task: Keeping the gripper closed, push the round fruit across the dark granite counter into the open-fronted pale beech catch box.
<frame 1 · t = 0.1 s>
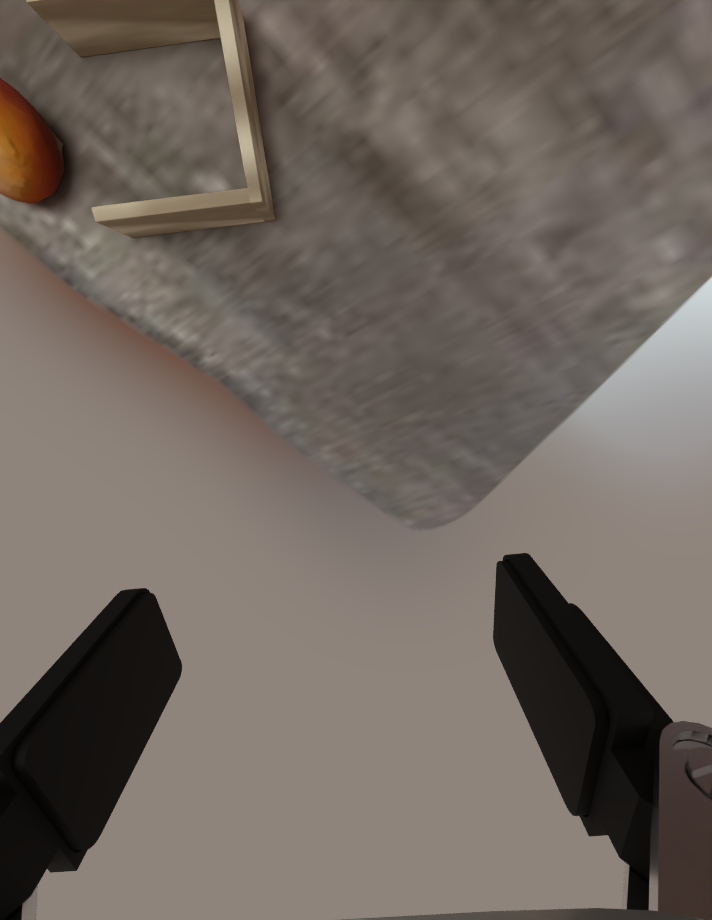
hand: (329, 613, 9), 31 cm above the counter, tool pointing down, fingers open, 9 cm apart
fruit: (33, 158, 31), on the counter
catch box: (183, 137, 30), on the counter
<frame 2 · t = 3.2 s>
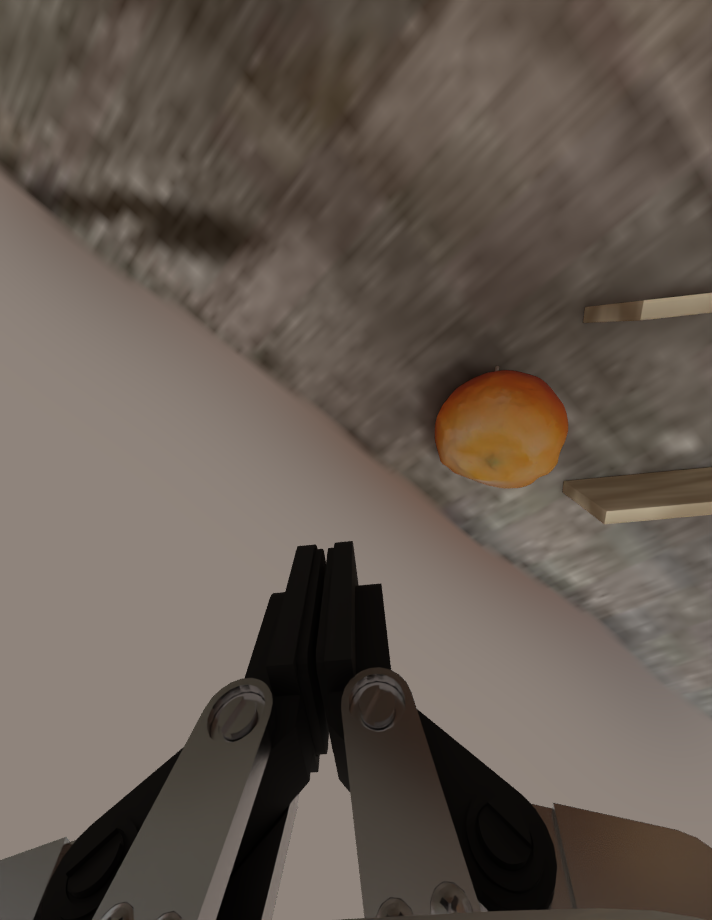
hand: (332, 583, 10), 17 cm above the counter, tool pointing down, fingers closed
fruit: (477, 417, 26), on the counter
catch box: (668, 398, 25), on the counter
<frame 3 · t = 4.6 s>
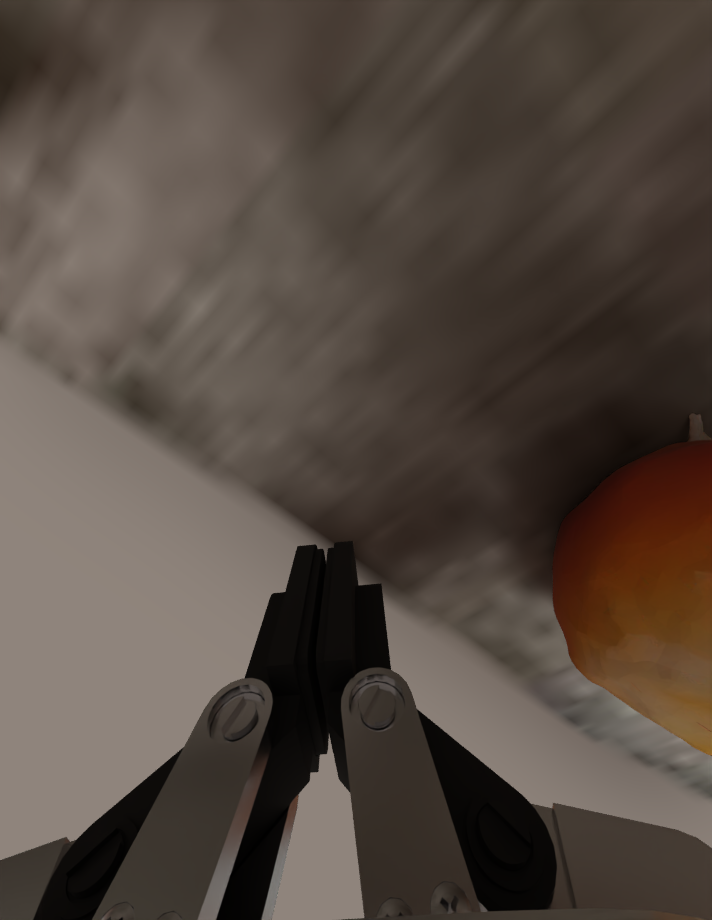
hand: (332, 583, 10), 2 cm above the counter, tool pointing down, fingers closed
fruit: (624, 520, 12), on the counter
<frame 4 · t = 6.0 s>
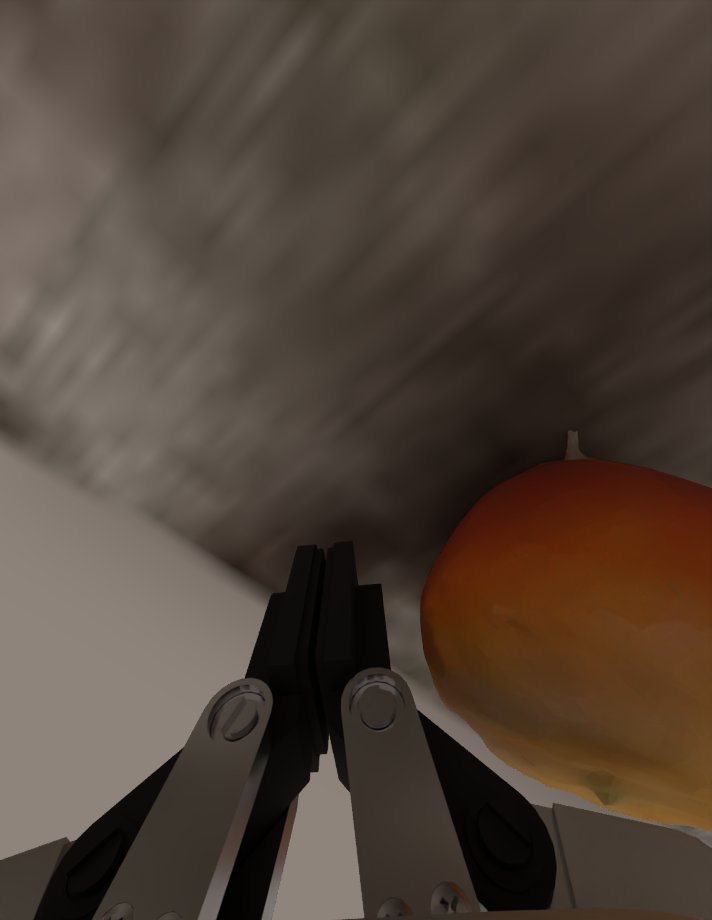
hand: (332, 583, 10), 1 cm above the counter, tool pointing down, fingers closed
fruit: (519, 536, 12), on the counter, touching gripper
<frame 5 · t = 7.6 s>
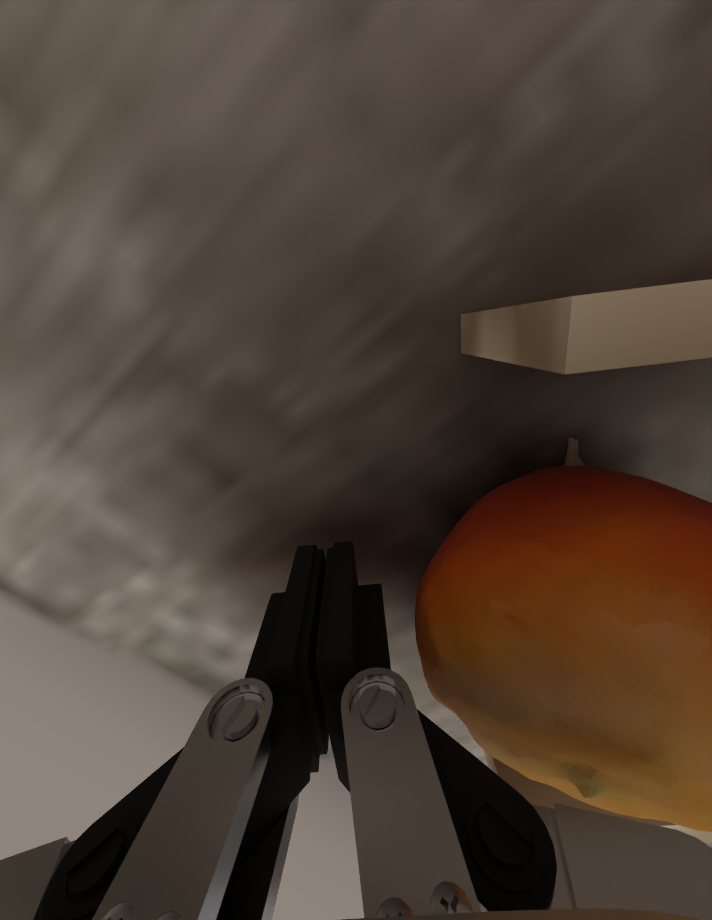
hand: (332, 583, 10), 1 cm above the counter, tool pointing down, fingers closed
fruit: (513, 539, 12), on the counter, touching gripper
catch box: (673, 515, 11), on the counter
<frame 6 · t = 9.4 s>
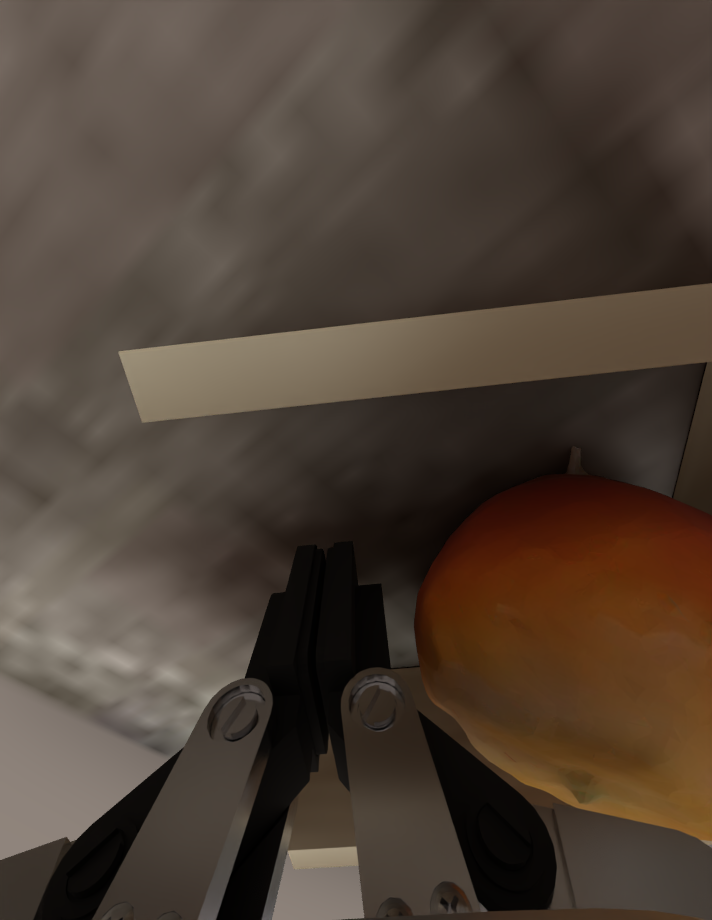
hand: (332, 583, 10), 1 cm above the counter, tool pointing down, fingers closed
fruit: (512, 545, 12), on the counter, touching gripper
catch box: (486, 535, 12), on the counter
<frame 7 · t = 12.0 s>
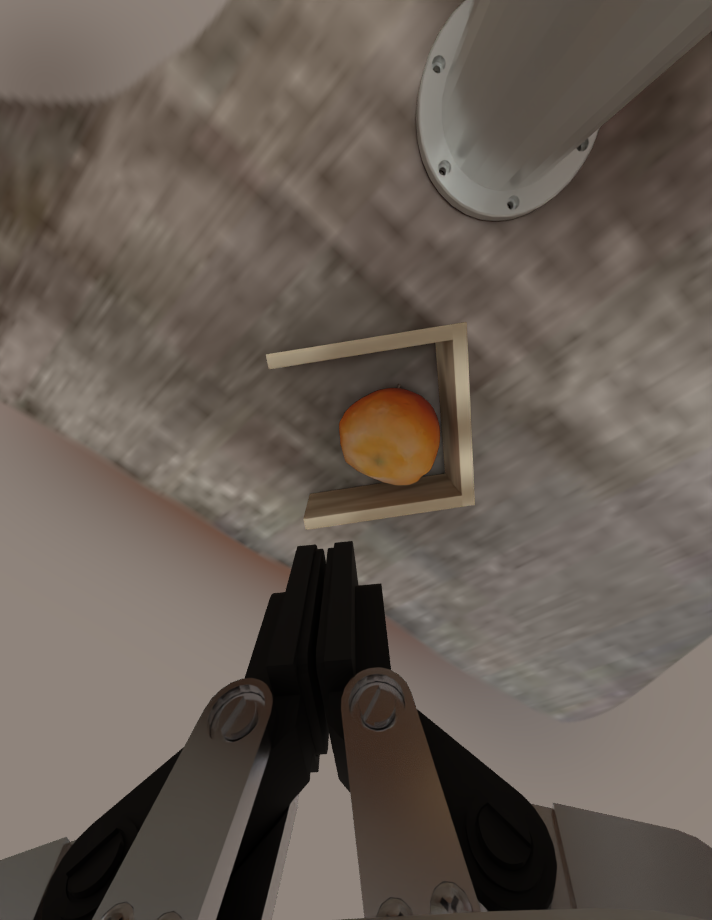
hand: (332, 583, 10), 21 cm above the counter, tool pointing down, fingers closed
fruit: (385, 426, 31), on the counter
catch box: (373, 421, 30), on the counter
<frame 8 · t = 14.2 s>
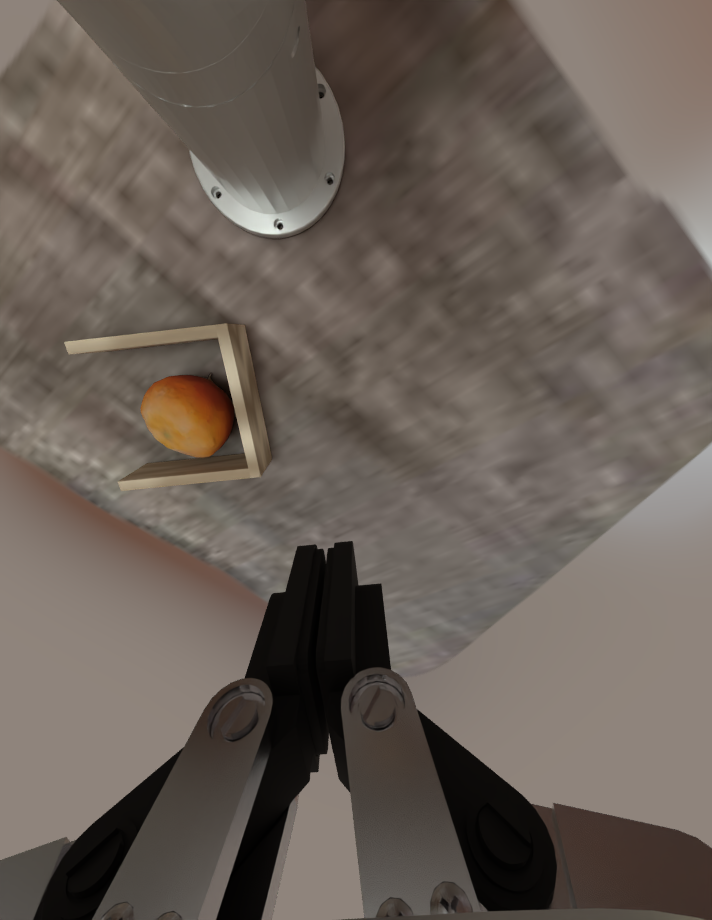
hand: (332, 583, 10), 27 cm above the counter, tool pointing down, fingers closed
fruit: (205, 408, 36), on the counter
catch box: (193, 403, 36), on the counter
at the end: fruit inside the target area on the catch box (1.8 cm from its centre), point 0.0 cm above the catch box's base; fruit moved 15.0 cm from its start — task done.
